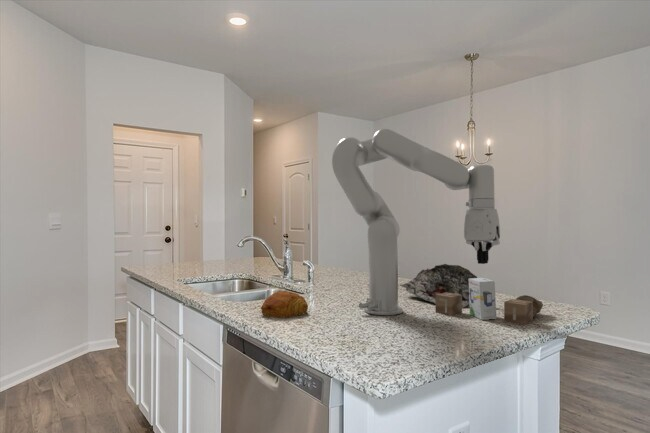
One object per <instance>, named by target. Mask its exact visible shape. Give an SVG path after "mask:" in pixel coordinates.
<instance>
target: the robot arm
mask: <svg viewBox="0 0 650 433" xmlns="http://www.w3.org/2000/svg"><path fill="white" fill-rule="evenodd" d="M385 159H389V160H392V161H393V162H396V163H397V164H399V165H402V166H403V167H405V168H407V169H409V170H411V171H413V172H419V173H422V174H425V175H427V176H430V177H432V178H433V179H435V180H437V181H439V182H442V183H443V184H444V186H445V187H446V188H447V189H449V190H452V191H458V190H459V191H460V190H465V189H468V201H466V202H465V206H466V207H468V209H466V212H465V216H464V224H463V226H464V227H463V228H464V229H463V238H464V240H466V241H465V243H466V244H467V245H471V246H472V247H473V248H474V250H475V251H476V261H477V264H479V265H480V264H481V265H484V264H488V262H489V259H490V258H489V251H490V250H491V248H493V246H494V247H495V246H499V245H500V243H501V242H500V237H501V228H500V227H501V226H500V218H499V213H498V210H497V208H495V204H496V203H495V169H494V167H493V165H489V164H479V165H471V166H470V167H466V166H465V165H464V164H462V163H460V162H458V161H456V160H454V159H453V158H450V157H449V156H447V155H444V154H442V153H440V152H438V151H435V150H433V149H431V148H429V147H427V146H424V145H422V144H420V143H418V142H416V141H414V140H412V139H410V138H408V137H406V136H404V135H403V134H400V133H398V132H396V131H394V130H392V129H389V128H381V129H379V130H377V131H376V132H375V133H374V134H373V136H372V138H369V139H365V140H361V141H360V140H359V139H357V138H355V137H352V136H350V137H349V136H347V137H344V138H342V139H340V140H339V142H338V143H337V144H336V146H335V148H334V150H333V153H332V158H331V166H332V169H333V173H334V176H335V178H336V180H337V182H338V183H339V185H340V188H342V190H343V192H344V194H345V195H346V197H347V199H348V201H349V202H350V204H351V205H352V207H353V209H354V211H355V213H356V214H358V215H359V216H360V217H362V218H363V219H364V221H365V223H366V224H367V226H368V228H367V243H368V244H367V246H368V247H367V248H368V282H369V283H368V297H367V298H366V301H363V302H359V304H358V308H359V309H361V310H362V309H364V310H363V311H364V312H365V313H367V314H370V315H375V316H376V315H377V316H395V315H400V314H402V313H403V310H404V309H403V307H402V306H400V305H399V276H398V275H399V267H398V266H399V262H398V257H399V256H398V238H399V235H400V232H401V231H400V230H401V228H400V225H399V222H398V221H397V219H396V218H395V216H394V215H393V213H392V211H391V210H390V208H389V206H388V205H387V203H386V202H385V200H384V199H383V196H381V194H380V193H378V192H377V191H375V190H374V189H373V188H372V186H371V185H370V183H369V182H368V180H367V179H366V177H365V174H363V172H362V170H361V168H360V166H364V165H369V164H371V163H375V162H379V161H383V160H385Z"/></svg>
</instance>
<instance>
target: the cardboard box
mask: <svg viewBox="0 0 650 433" xmlns="http://www.w3.org/2000/svg"><path fill="white" fill-rule="evenodd" d="M435 313H436V314H440V313H441V315H446V316H450V317H451V316H456V314H457V315H460V314H463V308H462V295H459V294H453V293H447V292H446V293H441V294H436V304H435Z"/></svg>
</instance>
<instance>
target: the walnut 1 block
mask: <svg viewBox="0 0 650 433" xmlns="http://www.w3.org/2000/svg"><path fill="white" fill-rule="evenodd" d="M515 299H516V298H513V299H509V300H506V301H504V302H503V303H504V304H503V307H504V308H503V310H504V311H503V313H504V314H503V316H504V318H503V319H504V320H503V321H506V322H505V323H509V322H511V324H515V323H516V324H515V325H522V326H526V325H529V324H531V323H533V322H534V316H533V302H530V301H523V300H515Z"/></svg>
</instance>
